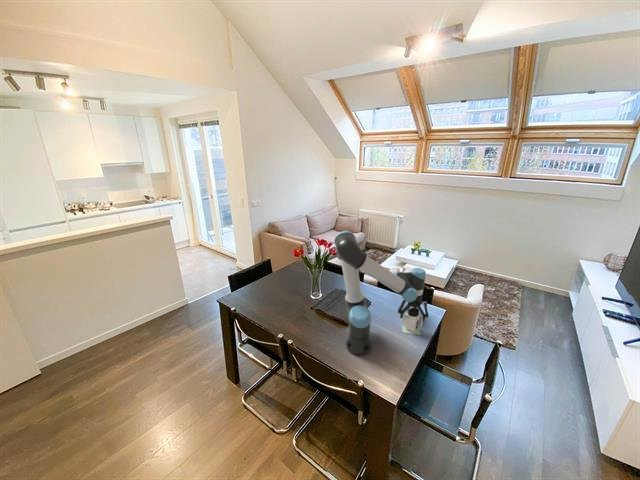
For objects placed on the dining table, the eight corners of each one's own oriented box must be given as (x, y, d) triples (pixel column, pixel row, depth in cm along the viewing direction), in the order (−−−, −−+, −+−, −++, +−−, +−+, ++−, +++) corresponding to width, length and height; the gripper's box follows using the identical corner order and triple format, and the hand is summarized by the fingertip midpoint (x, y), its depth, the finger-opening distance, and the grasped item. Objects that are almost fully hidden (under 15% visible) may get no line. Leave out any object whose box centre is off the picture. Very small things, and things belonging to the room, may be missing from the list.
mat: (402, 332, 162) (402, 332, 162) (402, 322, 171) (402, 321, 171) (420, 335, 160) (420, 334, 160) (418, 324, 169) (418, 324, 169)
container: (419, 326, 165) (422, 308, 160) (413, 332, 160) (416, 314, 155) (408, 320, 170) (410, 303, 165) (402, 326, 165) (404, 308, 160)
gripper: (395, 294, 155) (392, 324, 163) (437, 299, 150) (431, 330, 158) (395, 287, 162) (392, 317, 170) (435, 292, 157) (430, 322, 165)
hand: (411, 323), depth 164 cm, fingers closed on container, 10 cm apart
